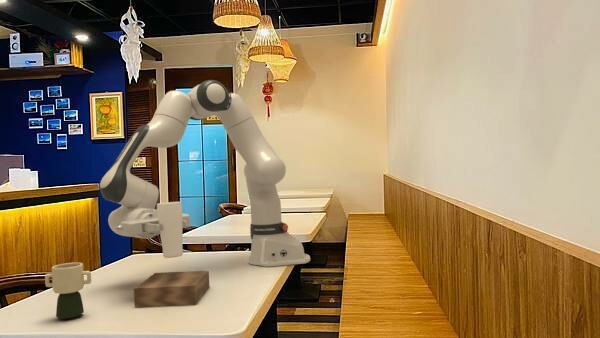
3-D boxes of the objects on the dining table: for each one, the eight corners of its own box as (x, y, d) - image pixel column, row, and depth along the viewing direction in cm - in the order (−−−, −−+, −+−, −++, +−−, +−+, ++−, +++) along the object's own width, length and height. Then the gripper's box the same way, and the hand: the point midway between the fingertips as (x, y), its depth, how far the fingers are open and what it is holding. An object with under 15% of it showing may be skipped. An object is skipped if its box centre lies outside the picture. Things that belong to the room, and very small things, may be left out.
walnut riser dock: (209, 287, 145) (208, 270, 145) (195, 304, 127) (194, 285, 127) (155, 289, 145) (155, 272, 145) (134, 307, 127) (133, 288, 127)
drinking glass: (179, 258, 132) (174, 202, 132) (156, 259, 133) (151, 204, 134) (189, 253, 139) (185, 201, 139) (167, 254, 140) (163, 202, 140)
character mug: (97, 311, 126) (94, 260, 126) (88, 319, 119) (85, 266, 119) (52, 314, 124) (50, 264, 124) (41, 323, 117) (38, 269, 117)
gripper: (111, 216, 137) (138, 218, 128) (173, 209, 152) (201, 210, 143) (112, 239, 137) (139, 242, 128) (174, 229, 152) (202, 232, 143)
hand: (172, 225), depth 136 cm, fingers closed on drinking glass, 6 cm apart
